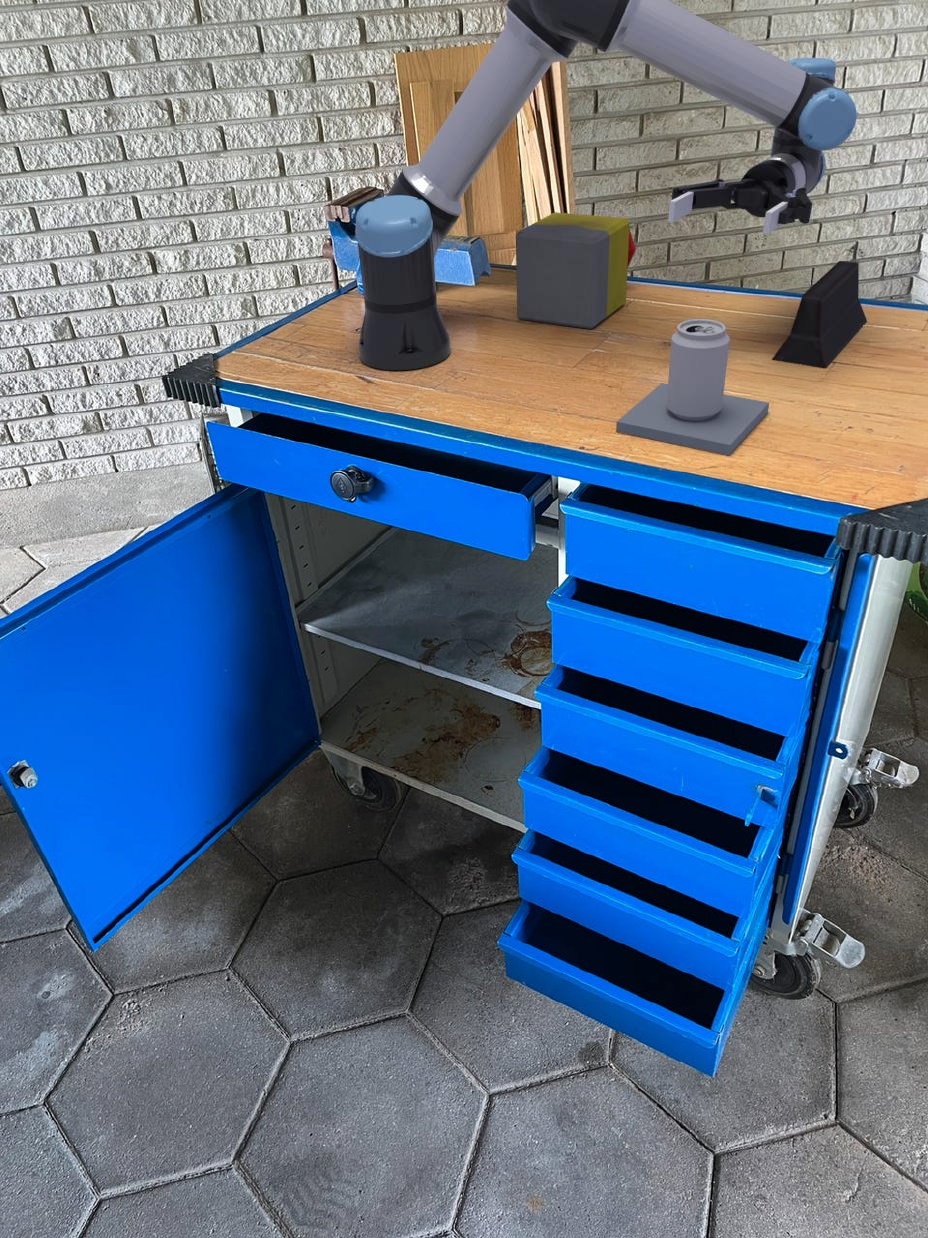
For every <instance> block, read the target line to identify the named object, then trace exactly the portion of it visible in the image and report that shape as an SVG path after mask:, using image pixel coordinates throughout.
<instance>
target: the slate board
mask: <svg viewBox="0 0 928 1238" xmlns="http://www.w3.org/2000/svg"><path fill="white" fill-rule="evenodd" d="M667 391H668V383H663V382H661V383H660V384H659V385H657V387H655V388H654V389H653V390H652V391H651V392H649V393H648V394H647V395H645V397H643V398H642V399H641V400H640V401H639V402H638V403H637V404H635V405H634V406H633V407H632V408H631V409H630V410H628V411H627V412H626V413H625V414H624V415H622V416H621V417H620V418H619V419H618V420H617V421H616V426H615V427H616V429H615V432H616V433H620V434H624V435H625V434H626V435H629V436H630V435H631V436H634V437H640V438H644V439H649V440H653V441H657V442H662V443H668V444H672V445H676V446H680V447H686V448H691V449H695V450H701V451H705V452H709V453H714V454H719V455H724V456H731V454H732V453H733V452H734V451H735V450H736V449H737V447H739V445H740V444H741V443H742V442H743V441H744V440H745V439H746V437H747V436H749V434H750V433H751V432H752V431H753V430H754V428H756V426H758V424H759V423H760V422H761V421H762V420H763V419H764V418H765V416H766V415H767V414H768V413H769V407H770V402H768V401H763V400H756V399H751V398H746V397H740V396H737V395H736V396H735V395H729V394H725V393H724V394H723V403H722V409H721V410H720V411H719V412H718V413H716V414H715V415H714V416H713V417H711V418H709V419H705V420H697V421H695V420H685V419H681V418H678V417H676V416H675V415H673V413H672V412H671V411H670V410H668V408H667V407H666V404H667Z"/></svg>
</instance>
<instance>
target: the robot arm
mask: <svg viewBox="0 0 928 1238" xmlns="http://www.w3.org/2000/svg"><path fill="white" fill-rule="evenodd" d="M505 16H506V24H505V26H504V27H503V29H502V31H501V32H500V34H499V35H498V37H497V39H496V41H495V42H494V44H493V45H492V47H491V48H490V50H489V51H488V53H487V55H486V56H485V58H484V60H483V61H482V62H481V64H480V66H479V67H478V68H477V70H476V71H475V73H474V75H473V76H472V78H471V80H470V82H468V85H467V86H466V87H465V89H464V91H463V92H462V94H461V95H460V97H459V98H458V100H457V101H456V103H455V105H454V106H453V108H452V110H451V112H450V113H449V114H448V115H447V117H446V118H445V121H444V122H443V123H442V125H441V127H440V129H439V130H438V131H437V133H436V135H435V136H434V138H433V140H432V141H431V142H430V144H429V146H428V147H427V149H426V151H425V152H424V154H423V155H422V156H421V157H420V160H419V162H418V163H417V164H413V165H412V164H411V165H408V166H404V167H403V168H402V170H401V172H400V174H398V176H397V178H396V180H395V181H394V183H393V185H392V186H391V187H390V189H389V190H388V191H387V193H386V195H385V196H382V197H378V198H375V199H374V200H372V201H368V202H366V203H365V204H363V205H362V206H360V208H359V209H358V211H357V213H356V214H355V215H356V216H355V230H354V233H355V237H356V238H355V239H356V241H357V250H358V259H359V266H360V274H361V285H362V294H363V300H364V316H363V319H362V320H363V321H362V326H361V330H360V337H359V340H358V352H359V353H358V354H359V358H360V361H361V362H362V363H363V364H364V365H365V366H369V367H370V368H374V369H379V370H385V371H407V370H408V371H409V370H416V369H417V370H418V369H423V368H426V367H430V366H433V365H436V364H439V363H440V362H442V361H444V360H445V359H447V358H448V357H449V356H450V355H451V352H452V351H451V339H450V334H449V333H448V332H447V328H446V325H445V323H444V320H443V318H442V314H441V312H440V310H439V307H438V303H437V301H438V300H437V298H438V297H437V286H436V285H437V284H436V272H435V270H436V269H435V258H436V255H437V251H438V249H439V247H440V246H441V245H442V243H443V241H444V240H445V239H446V237H447V235H448V234H449V233H450V231H451V230H452V228H454V225H455V224H456V222H457V221H458V219H459V218H460V217H461V215H462V213H463V209H462V207H463V206H462V201H461V199H462V197H463V195H464V194H465V193H466V191H467V190H468V188H469V186H470V185H471V184H472V182H473V180H474V179H475V177H476V176H477V175H478V173H479V171H480V170H481V169H482V167H483V166H484V164H485V163H486V162H487V160H488V158H490V157H489V156H490V155H491V154H492V153H493V151H494V149H495V148H496V147H497V145H498V144H499V142H500V141H501V139H502V137H503V136H504V135H505V133H506V132H507V130H508V129H509V127H510V126H511V125H512V123H513V122H514V120H515V119H516V117H517V116H518V115H519V112H520V111H521V109H522V108H523V107H524V105H525V104H526V102H527V101H528V100H529V98H530V97H531V95H532V93H533V92H534V90H535V88H536V87H537V85H538V84H539V83H540V81H541V80H542V79H543V77H544V75H545V74H546V73H547V71H548V70H549V68H550V67H551V66H552V64H554V63H558V62H565V61H567V60H568V58H569V57H570V56H571V54H572V53H573V51H574V49H575V48H576V47H577V45H578V44H579V43H583V44H586V45H589V46H590V47H593V48H595V49H597V50H599V51H601V52H603V53H605V54H609V53H611V52H613V51H616V50H617V51H618V50H619V51H621V52H622V53H625V54H627V55H629V56H631V57H633V58H635V59H637V60H639V61H641V62H643V63H645V64H647V65H648V66H651V67H653V68H655V69H657V70H660V71H661V72H662V73H665V74H667V75H668V76H671V77H673V78H675V79H677V80H680V81H681V82H683V83H685V84H687V85H689V86H692V87H693V88H695V89H697V90H699V91H701V92H703V93H705V94H708V95H709V96H712V97H713V98H716V99H717V100H720V101H721V102H724V103H725V104H728V105H730V106H732V107H734V108H736V109H738V110H740V111H742V112H743V113H745V114H748V115H750V116H751V117H754V118H756V119H758V120H759V121H762V122H765V123H766V124H768V125H770V126H771V127H774V131H773V137H772V144H771V151H770V156H769V158H766V159H764V160H762V161H761V162H759V163H757V164H755V165H754V166H752V167H750V168H749V169H748V170H747V171H746V172H745V174H744V175H743V176H742V177H741V180H740V181H731V182H730V181H729V182H726V183H724V182H725V181H724V179H721V178H718V179H714V180H712V181H710V182H704V183H698V184H692V185H686V186H681V187H673V188H672V195H671V200H669V209H668V219H667V222H668V223H676V221H678V220H680V219H682V218H684V217H685V216H688V215H689V214H691V213H693V212H692V211H693V210H699V209H701V210H702V209H708V208H718V207H719V208H720V207H722V208H724V209H726V210H732V209H733V210H735V209H741V210H745V211H746V212H747V213H748V214H749V215H751V216H754V217H757V218H764V223H763V229H762V230H763V231H762V234H763V235H770V234H771V233H772V232H773V231H775V230H777V229H778V228H780V227H781V226H783V225H787V224H792V223H795V222H796V220H798V221H799V222H800V223H801V224H804V225H805V224H809V223H810V220H811V215H812V208H813V202H812V200H811V199H810V198H809V196H808V194H809V193H811V192H812V191H813V190H814V189H815V188H816V187H817V186H818V185H819V183H820V182H821V181H822V179H823V177H824V175H825V172H826V165H827V163H826V157H825V155H824V151H831V150H833V149H836V148H837V147H839V146H841V145H843V143H845V141H846V140H847V139H849V137H850V136H851V134H852V133H853V131H854V128H855V126H856V123H857V118H858V116H857V115H858V113H857V107H856V104H855V102H854V101H853V99H852V97H851V96H850V94H849V92H847V91H845V90H844V89H842V88H839V87H837V86H835V84H836V71H837V69H836V68H837V65H836V64H837V63H836V61H834V60H833V59H830V58H826V57H825V58H824V57H800V58H799V57H798V58H792V59H790V60H789V61H786V60H784V59H781V58H780V57H777V56H776V55H774V54H772V53H770V52H768V51H767V50H764V49H762V48H760V47H758V46H757V45H755V44H753V43H750V42H749V41H746V40H745V39H743V38H741V37H739V36H737V35H736V34H733V33H731V32H730V31H727V30H725V29H723V28H721V27H720V26H718V25H716V24H714V23H712V22H710V21H708V20H706V19H704V18H702V17H701V16H698V15H696V14H694V13H692V12H690V11H689V10H686V9H684V8H682V7H680V6H679V5H678V4H677V5H676V4H675V3H673V2H671V1H669V0H508V2H507V3H506V5H505Z"/></svg>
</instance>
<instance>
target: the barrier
mask: <svg viewBox="0 0 928 1238" xmlns="http://www.w3.org/2000/svg"><path fill="white" fill-rule="evenodd" d="M859 265H860V262H854V261H845V260H839V261H838V262H836V264H834V265H833V266H832V267H831V268H830V269H829V270H828V271H827V272H826V273H825V274H824V275H823V276H822V277H820V278H819V279H818V280H817V281H816V282H815V283H814V284H813V285H812V286H810V288H808V289H807V290H806V291H805V292H804V293H803V294H802V296H801V298H800V302H799V306H798V308H797V311H796V314H795V317H794V321H793V323H792V326H791V330H790V333H789V335H788V336H787V337H786V339H785V341H784V342H783V343H782V344H781V346H780V347H779V349H778V350H777V351H776V353H775V354H774V355H773V357H772V358H771V361H776V362H781V361H782V362H781V363H787V364H796V365H800V364H801V365H800V366H808V367H814V368H818V369H819V368H820V369H827V368H828V367H829V366H830V365H831V364H832V363H833V362H834V361H835V360H836V358H837V357H838V356H839V355H840V354H841V353H842V351H843V350H844V349H845V348H846V347H847V346H848V345H849V344H850V342H851V341H852V340H853V339H854V337H855V336H856V335H857V334H858V333H859V332H860V331H861V329H862V328H863V327H864V326H865V325H866V324H867V323H868V319H867V317H866V315H865V312H864V309H863V306H862V304H861V301H860V299H859V286H860V285H859V282H860V281H859V276H860V275H859V274H860V273H859V271H860V269H859V267H860V266H859ZM863 325H864V326H863ZM859 330H860V331H859ZM838 354H839V355H838Z"/></svg>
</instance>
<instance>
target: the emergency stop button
mask: <svg viewBox="0 0 928 1238" xmlns="http://www.w3.org/2000/svg"><path fill="white" fill-rule="evenodd" d="M636 251H637V249H636V245H635V242H634V238H633V236H632V232H631V229H630V222H629V220H628V219H627V218H625V217H617V216H616V217H614V216H610V215H608V216H605V215H604V216H603V215H593V214H592V215H591V214H579V213H577V214H576V213H566V212H556V211H555V212H552V213H551V214H549V215H547V216H545V217H544V218H541V219H540V220H538V221H536V222H534V223H532V224H530V225H528V226H527V227H524V228H522V229H521V230H519V231H518V232H517V233H516V234H515V263H516V265H515V266H516V267H515V269H516V271H515V272H516V277H515V278H516V313H517V314H516V315H517V317H518V318H519V319H520V320H521V321H522V320H524V321H530V322H537V323H545V324H552V325H557V326H558V325H559V326H567V327H573V328H580V329H587V330H592V329H593V328H594V327H596V326H597V325H598V324H599V323H601V322H602V321H604V320H605V319H606V318H608V317H609V316H610V315H611V314H613V313H614V312H616V311H617V310H618V309H619V308H621V307H622V306H623V305H624V304H625V303H626V302H627V285H628V284H627V283H628V282H627V281H628V269H629V266H630V264H631V263H632V260H633V258H634V255H635V253H636Z"/></svg>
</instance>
